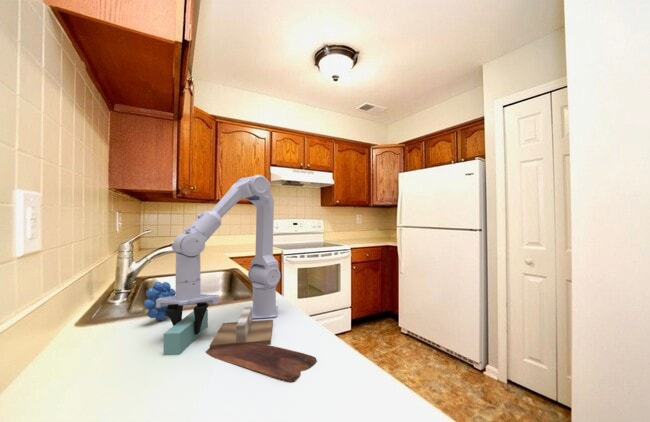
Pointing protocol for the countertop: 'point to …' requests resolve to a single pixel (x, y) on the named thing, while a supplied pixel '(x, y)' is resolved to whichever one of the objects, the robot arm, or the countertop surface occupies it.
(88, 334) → the countertop surface
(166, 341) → the teal rectangular bar
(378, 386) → the countertop surface
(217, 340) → the ridge
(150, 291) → the grapes
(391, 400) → the countertop surface
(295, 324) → the countertop surface
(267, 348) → the wooden tablet
